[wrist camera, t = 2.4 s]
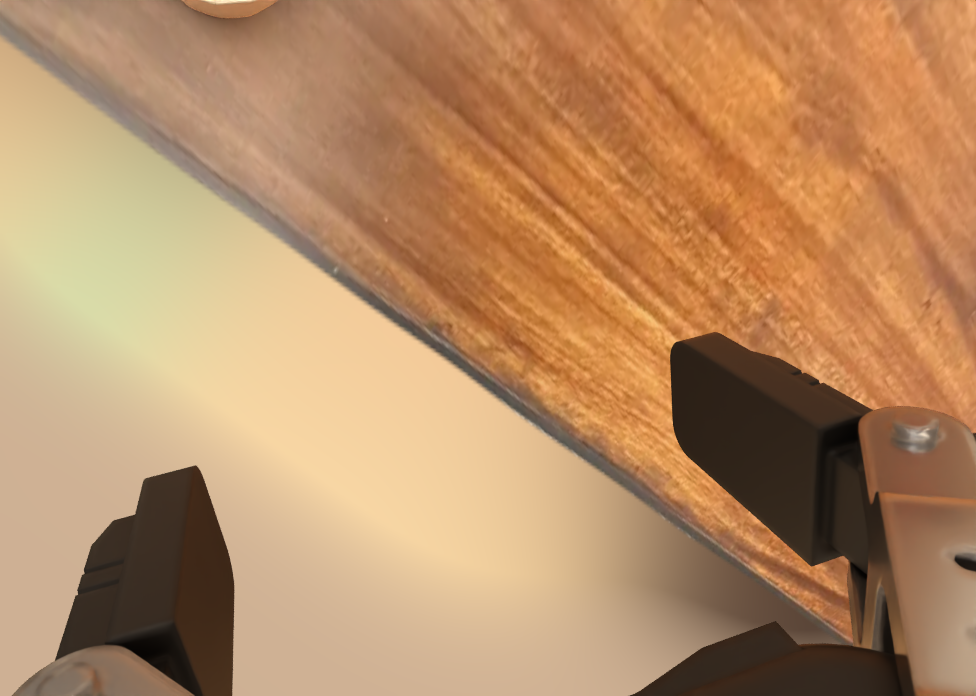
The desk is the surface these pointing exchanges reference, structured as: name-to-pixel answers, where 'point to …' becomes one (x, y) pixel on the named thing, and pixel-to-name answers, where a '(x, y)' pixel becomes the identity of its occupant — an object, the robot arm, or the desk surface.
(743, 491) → the robot arm
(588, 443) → the desk surface
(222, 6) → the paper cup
